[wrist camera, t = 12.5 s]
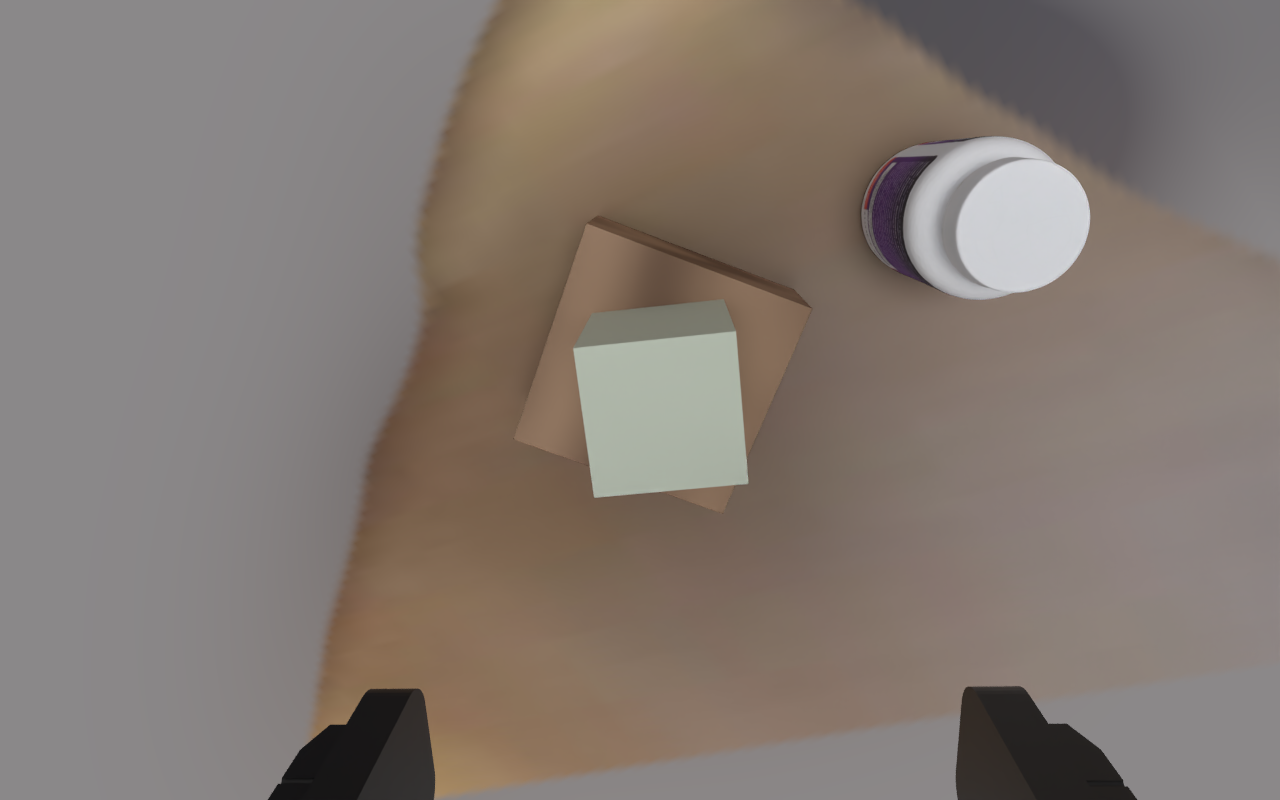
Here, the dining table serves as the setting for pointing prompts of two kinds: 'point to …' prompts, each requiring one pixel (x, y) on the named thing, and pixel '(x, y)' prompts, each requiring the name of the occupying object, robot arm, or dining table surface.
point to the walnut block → (647, 277)
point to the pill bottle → (976, 216)
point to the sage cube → (661, 399)
